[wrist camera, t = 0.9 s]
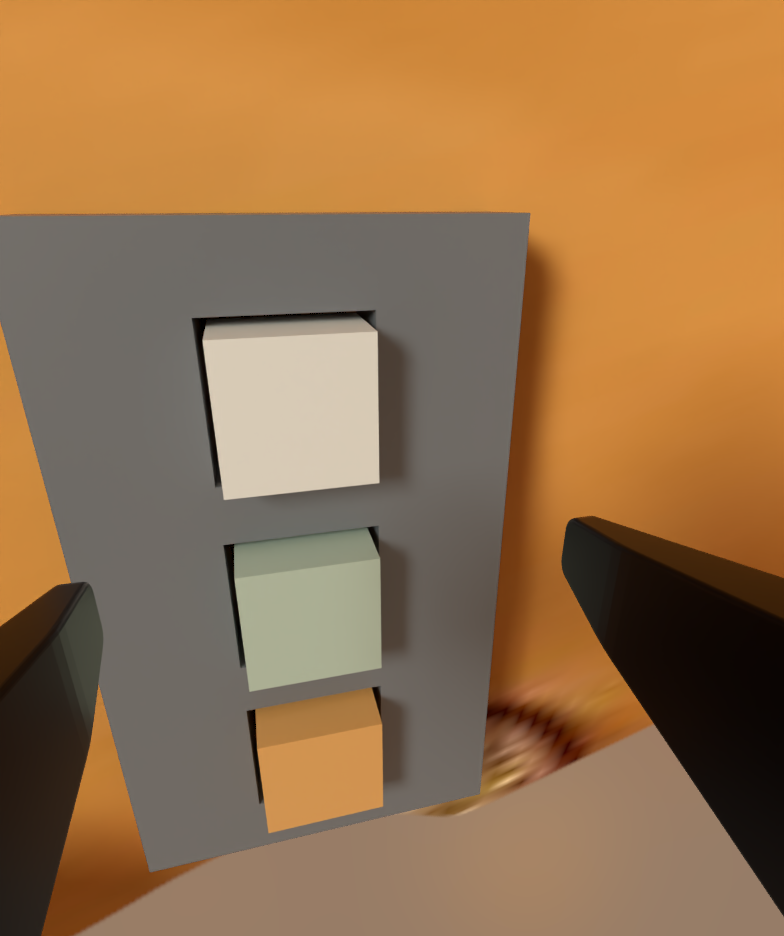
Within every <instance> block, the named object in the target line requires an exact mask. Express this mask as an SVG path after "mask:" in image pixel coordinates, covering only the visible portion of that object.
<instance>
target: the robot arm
mask: <svg viewBox="0 0 784 936" xmlns="http://www.w3.org/2000/svg"><path fill="white" fill-rule="evenodd" d="M562 570H563V573H564V575H565V578H566V579H567V581H568V583H569V585H570V587H571V589H572V591H573V593H574V595H575V596H576V598H577V600H578V602H579V604H580V606H581V608H582V610H583V611H584V613H585V615H586V617H587V619H588V621H589V623H590V625H591V627H592V628H593V630H594V632H595V634H596V636H597V638H598V639H599V641H600V643H601V645H602V646H603V648H604V650H605V651H606V653H607V654H608V656H609V658H610V659H611V661H612V662H613V664H614V665H615V667H616V668H617V670H618V671H619V673H620V674H621V676H622V677H623V679H624V680H625V682H626V683H627V684H628V686H629V687H630V689H631V690H632V692H633V693H634V695H635V696H636V698H637V699H638V701H639V702H640V704H641V705H642V707H643V708H644V710H645V711H646V713H647V714H648V716H649V717H650V719H651V720H652V722H653V723H654V725H655V726H656V728H657V729H658V731H659V732H660V734H661V735H662V736H663V738H664V739H665V741H666V742H667V744H668V745H669V747H670V748H671V750H672V751H673V753H674V754H675V756H676V757H677V759H678V760H679V761H680V763H681V765H682V766H683V768H684V769H685V771H686V772H687V773H688V775H689V776H690V778H691V780H692V781H693V782H694V784H695V785H696V787H697V788H698V790H699V791H700V793H701V794H702V796H703V797H704V799H705V800H706V802H707V803H708V805H709V806H710V808H711V809H712V811H713V812H714V814H715V815H716V817H717V818H718V820H719V821H720V823H721V824H722V826H723V827H724V829H725V830H726V832H727V833H728V834H729V836H730V837H731V839H732V840H733V842H734V843H735V845H736V846H737V848H738V849H739V851H740V852H741V854H742V855H743V857H744V858H745V860H746V861H747V863H748V864H749V866H750V867H751V868H752V870H753V872H754V873H755V875H756V876H757V878H758V879H759V881H760V882H761V884H762V885H763V886H764V888H765V889H766V891H767V892H768V894H769V895H770V897H771V898H772V900H773V901H774V903H775V904H776V906H777V907H778V909H779V910H780V912H781V913H782V915H783V916H784V578H782V577H779V576H776V575H772V574H769V573H766V572H763V571H760V570H757V569H754V568H751V567H748V566H745V565H742V564H739V563H736V562H733V561H730V560H727V559H723V558H720V557H717V556H714V555H711V554H708V553H705V552H702V551H699V550H696V549H693V548H690V547H687V546H684V545H681V544H678V543H675V542H671V541H668V540H665V539H662V538H659V537H656V536H653V535H650V534H647V533H644V532H641V531H638V530H635V529H632V528H629V527H626V526H622V525H619V524H616V523H613V522H610V521H607V520H604V519H601V518H598V517H595V516H587V517H579V518H573V519H571V520H570V521H569V522H568V524H567V526H566V532H565V539H564V546H563V553H562ZM102 651H103V629H102V624H101V620H100V616H99V612H98V608H97V604H96V600H95V596H94V592H93V589H92V587H91V585H90V584H89V583H87V582H76V583H69V584H61V585H57V586H55V587H54V588H52V589H51V590H49V591H48V592H47V593H45V594H44V595H43V596H41V597H40V598H38V599H37V600H36V601H34V602H33V603H32V604H30V605H29V606H28V607H26V608H25V609H23V610H22V611H21V612H19V613H18V614H17V615H15V616H14V617H13V618H11V619H10V620H8V621H7V622H6V623H4V624H3V625H2V626H0V936H41V934H42V930H43V926H44V922H45V918H46V914H47V910H48V907H49V903H50V899H51V895H52V891H53V887H54V883H55V879H56V876H57V872H58V868H59V864H60V860H61V856H62V852H63V849H64V845H65V841H66V837H67V833H68V829H69V825H70V821H71V818H72V814H73V810H74V806H75V802H76V798H77V794H78V790H79V787H80V783H81V779H82V775H83V771H84V767H85V763H86V759H87V755H88V751H89V746H90V741H91V735H92V728H93V721H94V713H95V705H96V697H97V690H98V682H99V674H100V666H101V659H102Z"/></svg>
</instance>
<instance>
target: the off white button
mask: <svg viewBox="0 0 784 936" xmlns="http://www.w3.org/2000/svg"><path fill="white" fill-rule="evenodd" d="M202 341H203V348H204V356H205V363H206V370H207V378H208V385H209V393H210V400H211V408H212V415H213V423H214V430H215V438H216V445H217V453H218V460H219V467H220V475H221V482H222V490H223V497H224V500H229V499H238V498H247V497H257V496H266V495H275V494H284V493H293V492H302V491H311V490H321V489H330V488H339V487H348V486H357V485H366V484H375V483H379V412H378V331H376V330H375V329H374V328H373V327H372V326H371V325H370V324H368V323H367V322H366V321H365V320H364V319H363V318H361V317H360V316H359V315H358V314H357V313H338V314H315V315H292V316H269V317H246V318H223V319H207V321H206V326H205V331H204V336H203V340H202Z"/></svg>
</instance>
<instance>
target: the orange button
mask: <svg viewBox="0 0 784 936" xmlns="http://www.w3.org/2000/svg"><path fill="white" fill-rule="evenodd" d="M255 713H256V734H257V751H258V758H259V766H260V773H261V781H262V788H263V796H264V803H265V811H266V818H267V826H268V833H272V832H277V831H281V830H285V829H289V828H294V827H298V826H302V825H306V824H311V823H315V822H319V821H324V820H328V819H332V818H336V817H341V816H345V815H349V814H353V813H358V812H362V811H366V810H370V809H375V808H379V807H383V750H382V721H381V718H380V715H379V711H378V708H377V704H376V701H375V697H374V694H373V690H372V687H371V688H366V689H360V690H355V691H350V692H344V693H339V694H334V695H328V696H323V697H318V698H312V699H307V700H302V701H296V702H291V703H286V704H280V705H275V706H270V707H264V708H259V709H255Z"/></svg>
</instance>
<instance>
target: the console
mask: <svg viewBox="0 0 784 936" xmlns="http://www.w3.org/2000/svg"><path fill="white" fill-rule="evenodd" d="M529 222H530V213H512V212H360V213H174V214H12V215H0V322H1V326H2V329H3V333H4V337H5V340H6V344H7V348H8V351H9V355H10V359H11V362H12V366H13V370H14V373H15V377H16V381H17V385H18V388H19V392H20V396H21V399H22V403H23V407H24V410H25V414H26V418H27V421H28V425H29V429H30V432H31V436H32V440H33V444H34V447H35V451H36V455H37V458H38V462H39V466H40V469H41V473H42V477H43V480H44V484H45V488H46V491H47V495H48V499H49V502H50V506H51V510H52V514H53V517H54V521H55V525H56V528H57V532H58V536H59V539H60V543H61V547H62V550H63V554H64V558H65V561H66V565H67V569H68V572H69V576H70V580H71V583H76V582H87V583H89V584H90V585H91V587H92V589H93V592H94V596H95V600H96V604H97V608H98V612H99V616H100V620H101V624H102V629H103V651H102V659H101V666H100V674H99V682H98V683H99V687H100V690H101V694H102V698H103V701H104V705H105V709H106V712H107V716H108V720H109V724H110V727H111V731H112V735H113V738H114V742H115V746H116V749H117V753H118V757H119V760H120V764H121V768H122V771H123V775H124V779H125V783H126V786H127V790H128V794H129V797H130V801H131V805H132V808H133V812H134V816H135V819H136V823H137V827H138V830H139V834H140V838H141V841H142V845H143V849H144V853H145V856H146V860H147V864H148V867H149V871H150V872H155V871H159V870H163V869H167V868H171V867H176V866H180V865H184V864H188V863H192V862H197V861H201V860H205V859H209V858H213V857H218V856H222V855H226V854H230V853H234V852H238V851H242V850H247V849H251V848H255V847H259V846H264V845H268V844H272V843H276V842H280V841H284V840H288V839H293V838H297V837H301V836H305V835H310V834H314V833H318V832H322V831H326V830H330V829H335V828H339V827H343V826H348V825H352V824H356V823H360V822H364V821H369V820H373V819H377V818H381V817H385V816H390V815H394V814H398V813H402V812H406V811H411V810H415V809H419V808H423V807H427V806H432V805H436V804H440V803H444V802H448V801H453V800H457V799H461V798H465V797H469V796H474V795H478V794H480V786H481V775H482V763H483V752H484V740H485V729H486V717H487V706H488V694H489V682H490V671H491V659H492V648H493V636H494V625H495V613H496V602H497V590H498V579H499V567H500V556H501V544H502V533H503V521H504V510H505V498H506V487H507V475H508V464H509V452H510V441H511V429H512V418H513V406H514V395H515V383H516V372H517V360H518V349H519V337H520V326H521V314H522V303H523V291H524V280H525V268H526V257H527V245H528V234H529ZM344 311H357V314H358V315H359V316H360V317H361V318H363V319H364V320H365V321H366V322H367V323H368V324H370V325H371V326H372V327H373V328H374V329H375V330H376V331H378V412H379V483H375V484H366V485H357V486H348V487H339V488H330V489H321V490H311V491H302V492H293V493H284V494H275V495H266V496H257V497H247V498H238V499H229V500H224V497H223V490H222V482H221V475H220V467H219V460H218V453H217V445H216V438H215V430H214V423H213V415H212V408H211V400H210V393H209V385H208V378H207V370H206V363H205V356H204V348H203V341H202V333H201V325H200V318H204V317H227V316H251V315H274V314H297V313H321V312H344ZM363 527H367V528H368V531H369V533H370V535H371V538H372V540H373V543H374V545H375V547H376V550H377V552H378V554H379V557H380V581H381V665H382V668H379V669H373V670H367V671H362V672H356V673H351V674H345V675H340V676H334V677H329V678H323V679H318V680H312V681H307V682H301V683H296V684H290V685H284V686H279V687H273V688H268V689H262V690H257V691H251V692H250V691H249V684H248V676H247V669H246V661H245V654H244V647H243V639H242V632H241V624H240V617H239V609H238V602H237V594H236V587H235V579H234V571H233V564H232V556H231V549H230V544H236V543H244V542H252V541H260V540H268V539H276V538H284V537H292V536H300V535H307V534H315V533H323V532H331V531H339V530H347V529H355V528H363ZM371 687H372V690H373V694H374V697H375V701H376V704H377V708H378V711H379V715H380V718H381V721H382V750H383V807H379V808H375V809H370V810H366V811H362V812H358V813H353V814H349V815H345V816H341V817H336V818H332V819H328V820H324V821H319V822H315V823H311V824H306V825H302V826H298V827H294V828H289V829H285V830H281V831H277V832H272V833H268V826H267V818H266V811H265V803H264V796H263V788H262V781H261V773H260V766H259V758H258V751H257V743H256V736H255V728H254V721H253V713H252V710H254V709H259V708H264V707H270V706H275V705H280V704H286V703H291V702H296V701H302V700H307V699H312V698H318V697H323V696H328V695H334V694H339V693H344V692H350V691H355V690H360V689H366V688H371Z"/></svg>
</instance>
